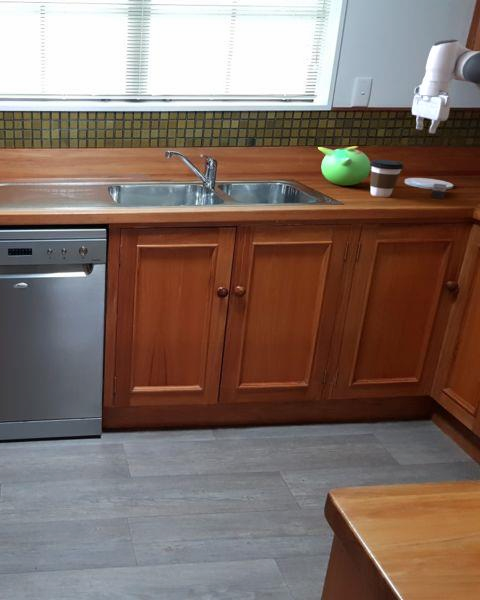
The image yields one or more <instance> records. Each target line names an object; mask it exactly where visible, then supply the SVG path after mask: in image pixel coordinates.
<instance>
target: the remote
mask: <svg viewBox="0 0 480 600" xmlns="http://www.w3.org/2000/svg"><path fill="white" fill-rule="evenodd" d="M446 191H447V190H446V185H444V184H435V183H434V187H433V189H432V191H431V195H430V198H431V199H436V200H437V199H438V200H444V199H445V195H446Z"/></svg>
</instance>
